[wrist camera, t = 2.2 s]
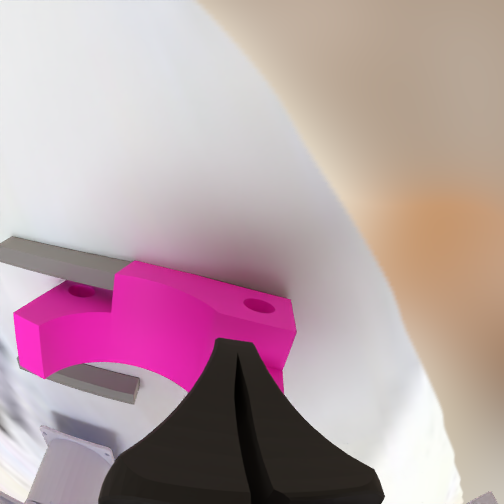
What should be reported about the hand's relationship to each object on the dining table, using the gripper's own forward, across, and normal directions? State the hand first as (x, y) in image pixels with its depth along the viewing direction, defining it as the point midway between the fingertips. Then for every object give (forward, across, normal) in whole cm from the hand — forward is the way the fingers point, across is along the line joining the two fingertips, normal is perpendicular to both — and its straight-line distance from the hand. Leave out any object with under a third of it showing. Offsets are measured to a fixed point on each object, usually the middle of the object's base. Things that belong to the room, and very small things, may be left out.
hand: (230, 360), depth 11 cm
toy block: (+10, +3, +4) cm, 11 cm away
